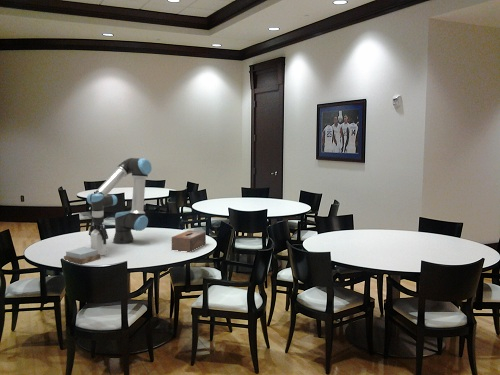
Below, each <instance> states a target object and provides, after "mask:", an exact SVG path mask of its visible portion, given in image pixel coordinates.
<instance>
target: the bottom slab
mask: <svg viewBox="0 0 500 375" xmlns="http://www.w3.org/2000/svg"><path fill="white" fill-rule="evenodd" d="M64 259H65V260H68V261H70V262H69V263H72V262H73V263H72V264H77V263H78V265H83V264H86V263H87V264H88V263H90V262H94V261H97V260H101V256H100V254H98V255H94V256H90V257H87V258H83V259H78V258H73V257H68V256H66V255H64V256H63V260H64ZM68 261H67V262H68Z"/></svg>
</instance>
